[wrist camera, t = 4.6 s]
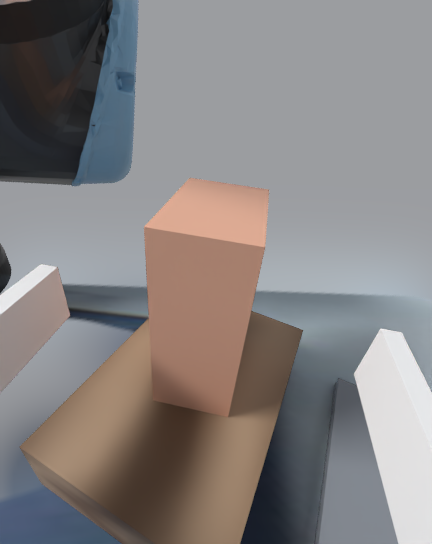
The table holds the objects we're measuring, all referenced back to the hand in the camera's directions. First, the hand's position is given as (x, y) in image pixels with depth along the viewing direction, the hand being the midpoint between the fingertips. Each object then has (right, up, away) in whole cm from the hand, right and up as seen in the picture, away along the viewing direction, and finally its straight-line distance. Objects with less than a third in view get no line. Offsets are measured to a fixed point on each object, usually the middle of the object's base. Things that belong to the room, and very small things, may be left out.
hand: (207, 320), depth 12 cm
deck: (-1, -7, +7) cm, 10 cm away
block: (0, -3, +5) cm, 6 cm away
